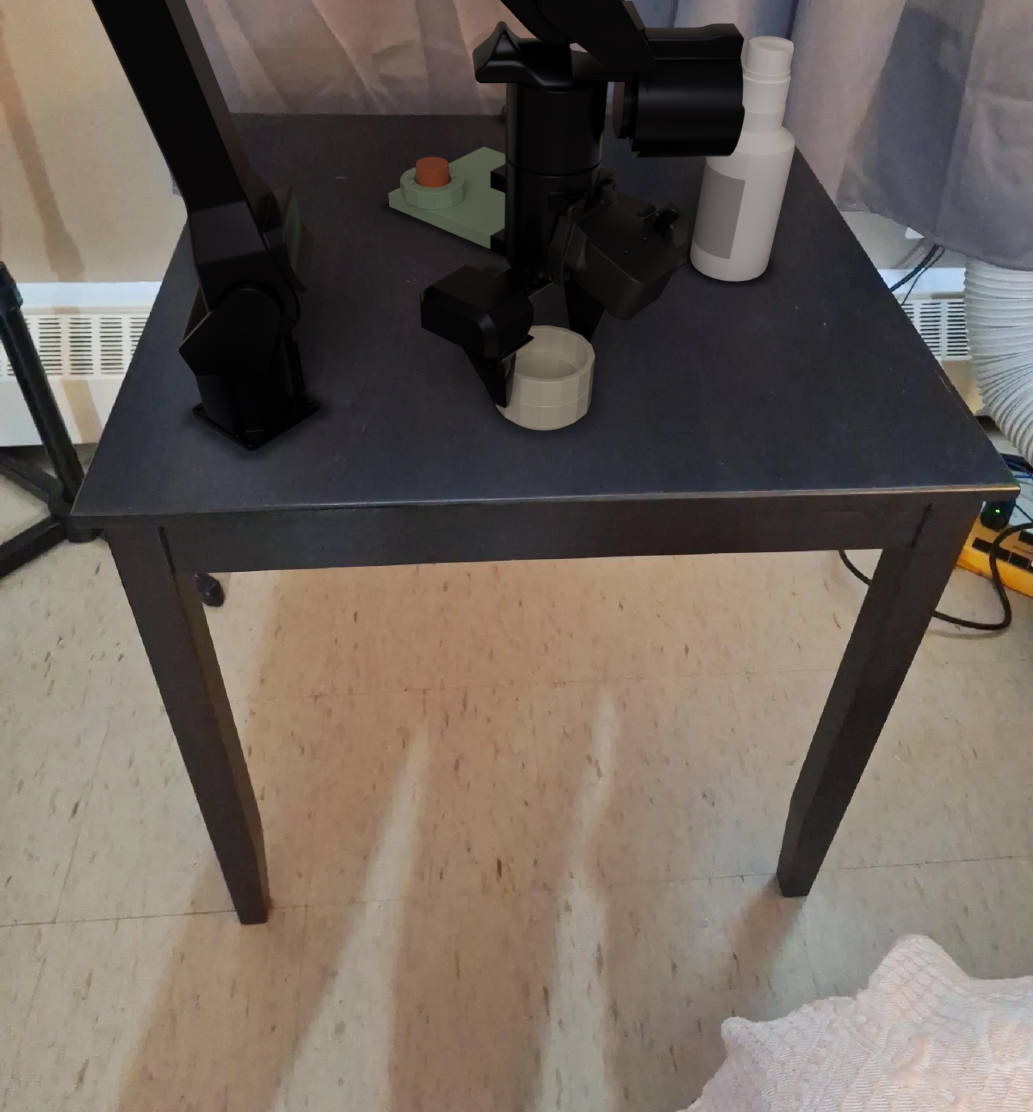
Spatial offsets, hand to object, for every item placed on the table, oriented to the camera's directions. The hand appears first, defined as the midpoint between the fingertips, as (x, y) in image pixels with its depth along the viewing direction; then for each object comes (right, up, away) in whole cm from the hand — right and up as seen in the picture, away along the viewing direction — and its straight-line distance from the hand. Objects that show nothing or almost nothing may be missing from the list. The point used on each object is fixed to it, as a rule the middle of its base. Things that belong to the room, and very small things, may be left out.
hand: (542, 374), depth 67 cm
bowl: (0, -2, +2) cm, 3 cm away
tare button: (-10, +22, +21) cm, 32 cm away
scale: (-4, +21, +24) cm, 32 cm away
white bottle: (+17, +13, +17) cm, 27 cm away
